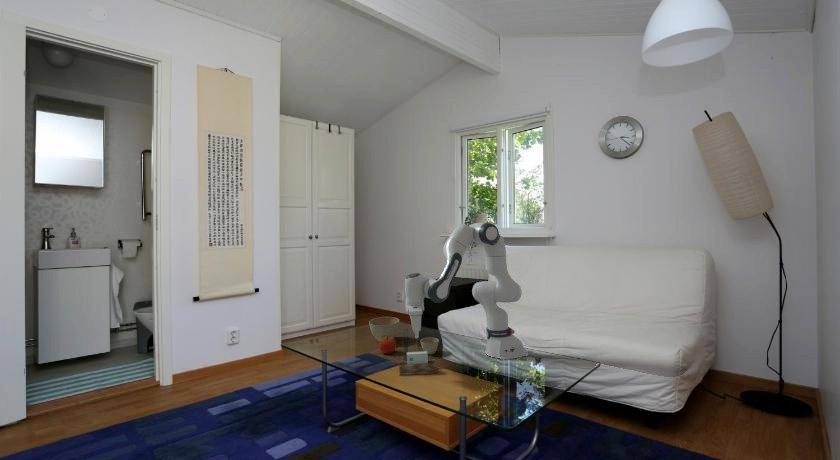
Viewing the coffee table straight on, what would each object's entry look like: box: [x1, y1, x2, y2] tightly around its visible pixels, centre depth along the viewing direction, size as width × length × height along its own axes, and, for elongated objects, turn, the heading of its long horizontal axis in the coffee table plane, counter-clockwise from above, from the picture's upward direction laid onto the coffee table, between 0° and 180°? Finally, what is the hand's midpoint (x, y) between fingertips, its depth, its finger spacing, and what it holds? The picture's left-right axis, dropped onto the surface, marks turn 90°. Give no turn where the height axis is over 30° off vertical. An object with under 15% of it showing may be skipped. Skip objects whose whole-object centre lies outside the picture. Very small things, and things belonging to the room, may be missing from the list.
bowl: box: [420, 337, 440, 355], centre depth 242 cm, size 10×10×7 cm
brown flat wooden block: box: [398, 358, 438, 376], centre depth 218 cm, size 18×8×4 cm, turn 93°
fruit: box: [378, 335, 397, 355], centre depth 245 cm, size 10×10×10 cm
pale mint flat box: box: [406, 350, 429, 365], centre depth 218 cm, size 10×3×8 cm, turn 93°
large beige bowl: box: [368, 316, 400, 343], centre depth 266 cm, size 18×18×12 cm
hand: (416, 334), depth 217 cm, fingers open, 8 cm apart
